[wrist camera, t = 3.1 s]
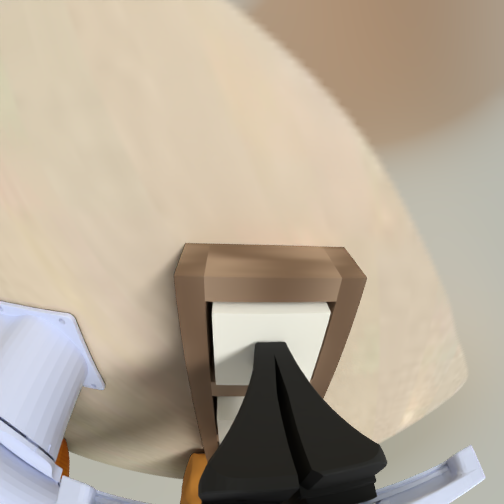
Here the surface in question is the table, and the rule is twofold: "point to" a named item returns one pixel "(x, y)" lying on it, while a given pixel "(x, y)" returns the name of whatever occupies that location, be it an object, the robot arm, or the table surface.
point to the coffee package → (193, 479)
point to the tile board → (259, 290)
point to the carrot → (63, 458)
